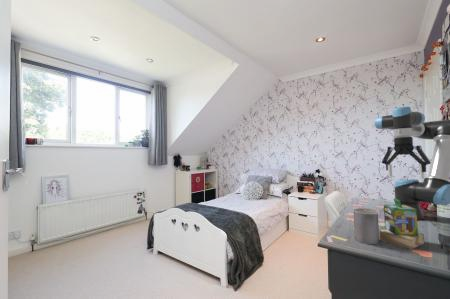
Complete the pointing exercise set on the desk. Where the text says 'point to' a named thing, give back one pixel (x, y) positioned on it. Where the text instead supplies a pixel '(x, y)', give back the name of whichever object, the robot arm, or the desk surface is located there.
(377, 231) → the pillar candle
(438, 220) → the desk surface
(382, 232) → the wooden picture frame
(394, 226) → the chalk box
